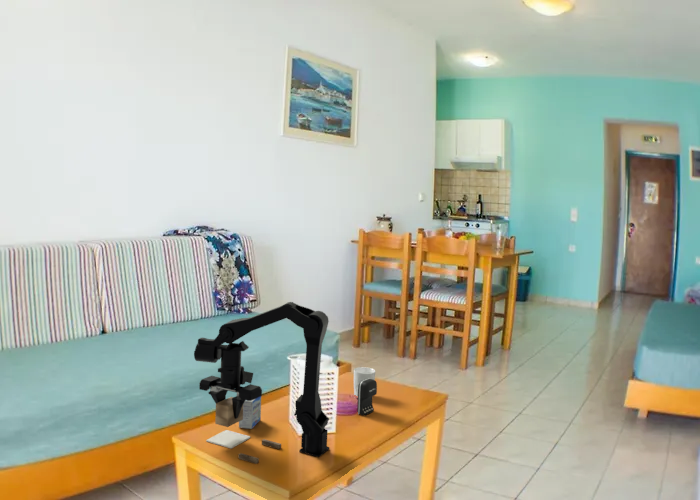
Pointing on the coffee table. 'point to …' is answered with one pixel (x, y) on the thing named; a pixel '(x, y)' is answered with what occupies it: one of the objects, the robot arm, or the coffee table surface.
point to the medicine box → (251, 413)
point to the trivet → (228, 439)
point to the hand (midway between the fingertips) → (229, 416)
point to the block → (226, 413)
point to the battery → (366, 396)
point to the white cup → (362, 376)
